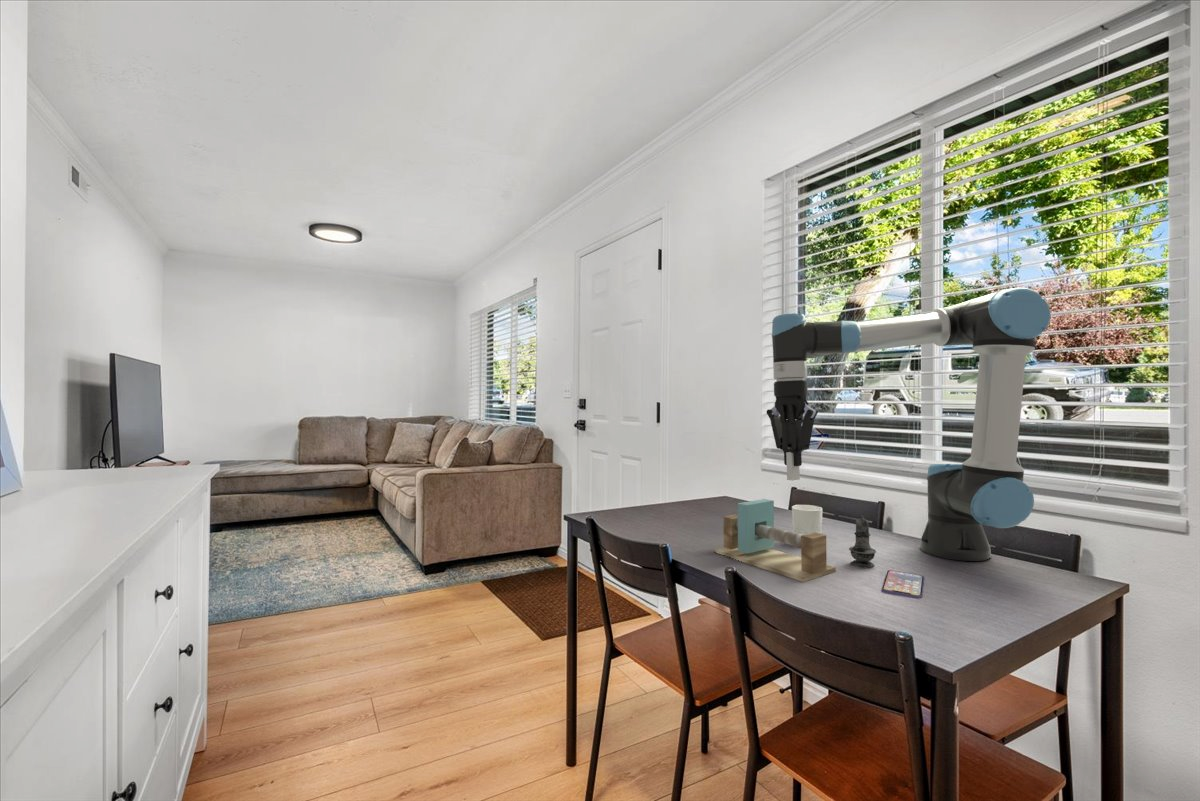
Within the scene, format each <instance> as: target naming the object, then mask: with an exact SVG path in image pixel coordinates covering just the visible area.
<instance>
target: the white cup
mask: <svg viewBox="0 0 1200 801" xmlns="http://www.w3.org/2000/svg"><path fill="white" fill-rule="evenodd" d="M791 515H792V529H793V531H792V532H794V533H798V534H802V535H806V534H810V533H814V532H815V533H819V534H822V528H823V507H821V506H818V505H813V504H812V505H811V504H795V505H792V506H791Z"/></svg>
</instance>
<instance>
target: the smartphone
mask: <svg viewBox="0 0 1200 801" xmlns="http://www.w3.org/2000/svg"><path fill="white" fill-rule="evenodd" d="M924 581H925V576H923V574H922V575H920V574H917V573H910V572H906V571H905V572H904V571H898V570H892V569H891V570H890V569H889V570H887V571H886V573H885V577H884V580H883V583H882V586H881V592H882V593H885V594H890V595H894V596H895V595H896V596H902V597H906V598H913V599H922V598H923V595H924V584H925V582H924ZM922 593H923V594H922Z"/></svg>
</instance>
